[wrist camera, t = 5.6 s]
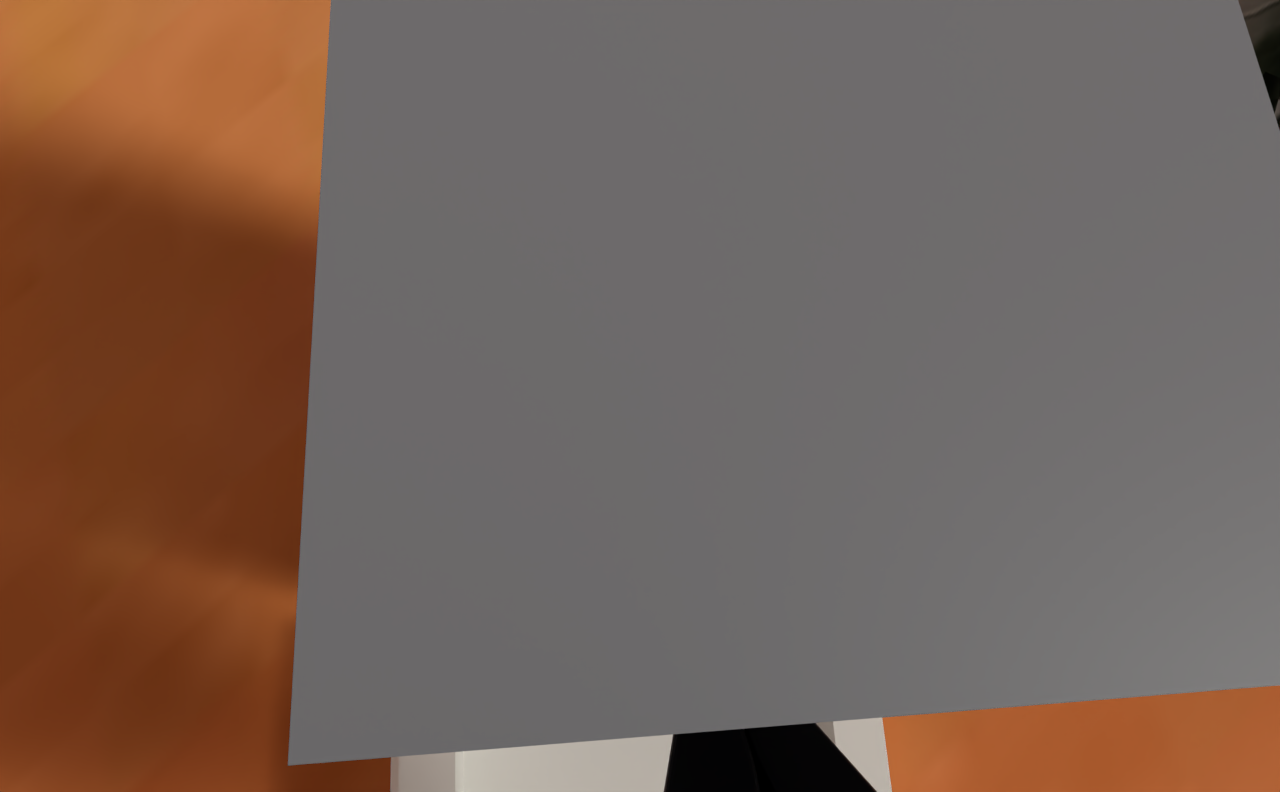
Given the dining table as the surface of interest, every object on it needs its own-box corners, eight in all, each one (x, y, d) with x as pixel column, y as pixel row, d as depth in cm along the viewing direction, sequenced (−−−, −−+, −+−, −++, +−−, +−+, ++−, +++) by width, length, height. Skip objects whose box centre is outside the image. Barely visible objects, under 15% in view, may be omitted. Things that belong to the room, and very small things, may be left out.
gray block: (778, 632, 17) (1451, 670, 4) (492, 651, 16) (287, 764, 3) (750, 364, 18) (1181, -181, 6) (489, 370, 18) (343, -239, 5)
